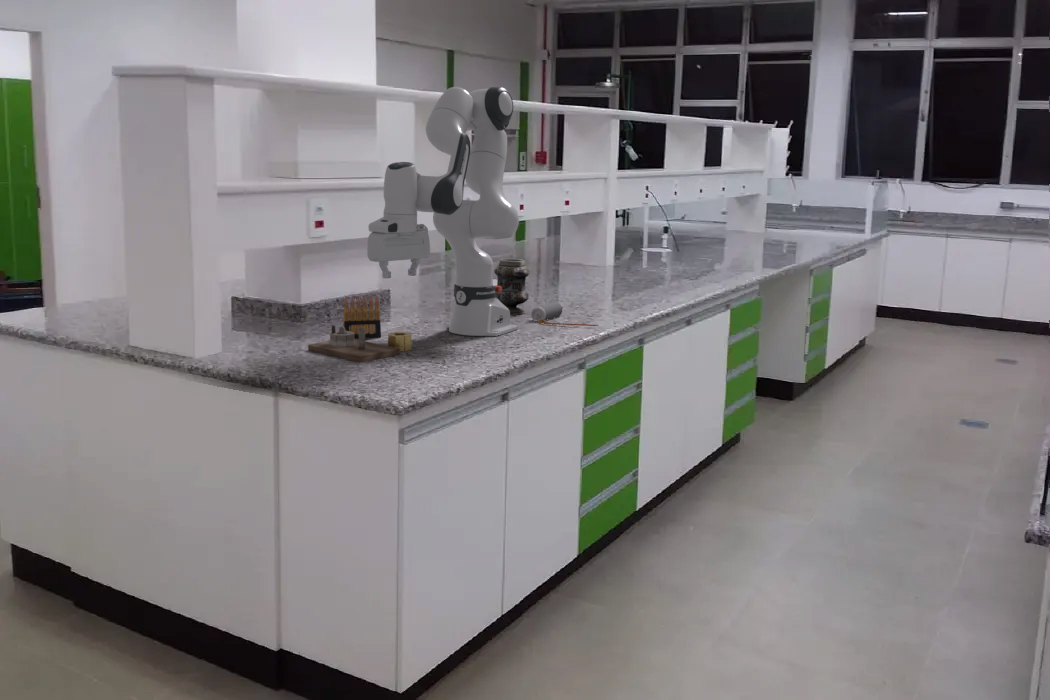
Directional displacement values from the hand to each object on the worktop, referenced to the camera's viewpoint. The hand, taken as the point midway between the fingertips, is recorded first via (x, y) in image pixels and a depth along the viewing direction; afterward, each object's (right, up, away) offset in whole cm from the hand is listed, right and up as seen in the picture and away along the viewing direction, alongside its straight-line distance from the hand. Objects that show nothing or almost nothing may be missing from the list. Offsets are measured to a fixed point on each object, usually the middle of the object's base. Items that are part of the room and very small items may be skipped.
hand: (399, 276), depth 251 cm
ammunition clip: (-13, -16, +17) cm, 27 cm away
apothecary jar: (+29, -7, +68) cm, 74 cm away
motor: (+49, -11, +55) cm, 74 cm away
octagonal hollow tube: (0, -19, +4) cm, 20 cm away
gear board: (-12, -20, -2) cm, 23 cm away
